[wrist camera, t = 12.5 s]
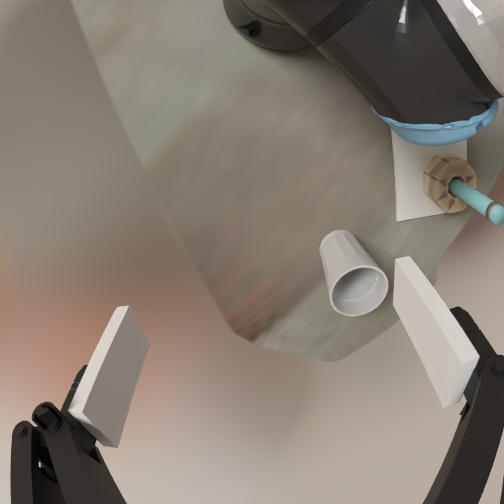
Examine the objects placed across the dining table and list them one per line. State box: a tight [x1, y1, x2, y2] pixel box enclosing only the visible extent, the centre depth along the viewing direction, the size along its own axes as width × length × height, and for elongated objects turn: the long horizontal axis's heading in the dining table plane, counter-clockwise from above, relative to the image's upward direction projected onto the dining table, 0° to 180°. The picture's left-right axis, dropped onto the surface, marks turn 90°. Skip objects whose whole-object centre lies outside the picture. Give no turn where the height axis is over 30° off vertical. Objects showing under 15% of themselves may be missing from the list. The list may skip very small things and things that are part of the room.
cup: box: [320, 230, 388, 316], centre depth 44 cm, size 8×8×12 cm
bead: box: [423, 154, 477, 213], centre depth 41 cm, size 8×8×4 cm
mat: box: [391, 128, 467, 222], centre depth 41 cm, size 20×14×1 cm
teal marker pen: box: [448, 177, 504, 225], centre depth 36 cm, size 2×2×15 cm
